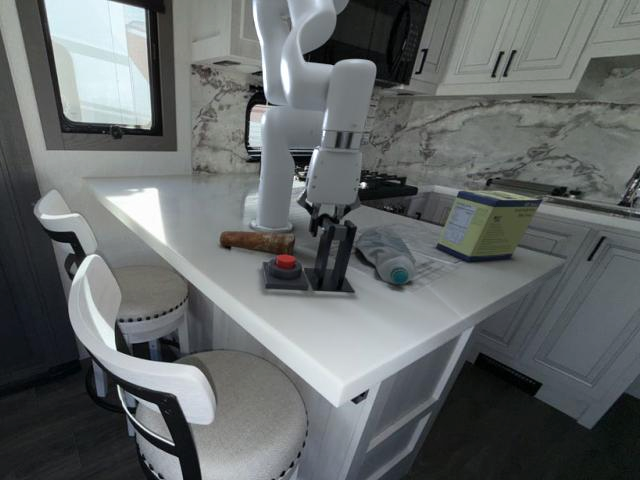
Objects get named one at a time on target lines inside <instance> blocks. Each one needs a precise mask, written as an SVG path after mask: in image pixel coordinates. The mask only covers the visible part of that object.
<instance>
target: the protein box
mask: <svg viewBox="0 0 640 480" xmlns="http://www.w3.org/2000/svg"><path fill="white" fill-rule="evenodd" d="M542 202H543V199H541V198H537V197H532V196H527V195H522V194H518V193H515V192H511V191H510V192H509V191H505V190H458V192H457V195H456V197H455V200H454V202H453V205H452V207H451V209H450V211H449V215H448V217H447V218H446V222H445V224H444V227H443V228H442V229H443V230H442V231H441V234H440V236H439V239H438V241H437V243H436V246H435V247H436V249H439V250H440V251H443V252H446V253H447V254H450V255H452V256H454V257H456V258H458V259H460V260H463V261H464V262H467V263H469V262H483V261H495V260H496V261H497V260H499V261H500V260H509V259H511V258H512V257H513V255H514V253H515V252H516V250H517V247H518V246H519V244H520V242H521V240H522V239H523V237H524V235H525V233H526V231H527V229H528V227H529V225H530V224H531V222H532V220H533V219H534V216H535V214H536V213H537V211H538V209H539V207H540V206H541V204H542Z"/></svg>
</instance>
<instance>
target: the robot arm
mask: <svg viewBox="0 0 640 480" xmlns="http://www.w3.org/2000/svg"><path fill="white" fill-rule="evenodd" d="M349 2H350V0H252V15H253V16H252V17H253V22H254V27H255V31H256V34H257V38H258V41H259V46H260V50H261V66H262V67H261V68H262V83H263V92H264V97H265V100H266V101H267V102H268V103H270V104H271V105H275V106H270V107H269V108H268V109H266V110H265V111H264V113H263V114H262V117H261V119H260V137H261V138H260V139H261V140H260V141H261V162H260V175H259V189H258V197H257V198H258V200H257V213H256V218H254V219H253V220H252V221H251V224H250V225H251V228H253V229H255V230H267V231H292V230H293V224H292V223H291V222H290V221H289V216H290V209H291V202H292V195H293V194H292V193H293V188H294V187H293V186H294V179H295V171H296V164H295V160H294V158H293V156H292V154H291V152H290V149H313V152H312V155H311V158H310V160H309V161H310V162H309V165H308V168H307V173H306V179H305V182H304V189H303V190H302V192H301V193H300V195H298V196H297V199H296V201H295V202H296V203H297V205H299V206H300V207H301V208H302V209H305V210H306V212H307V213H308V214H309V215H310V220H309V226H308V232H309V233H310V235H311V236H312V238H317V237H318V232H319V221H320V220H319V218H318V216H319V215H320V211H321V207H322V205H334V208H333V215H331V217H332V223H333V224H340V223H341V221H342V220H344V217H346V216H347V215H348V214H350V212H352V211H354V210H357V209H359V208H361V206H362V204H361V200H360V196H359V193H358V192H359V189H360V188H359V187H360V182H361V175H362V162H363V152H362V151H360V150H361V149H362V146H368V144H369V142H370V137H368V136H365V133H364V130H365V126H366V122H367V116H368V112H369V109H370V103H371V99H372V95H373V91H374V85H375V81H376V76H377V66H376V63H374V62H373V61H371V60H368V59H361V58H349V59H342V60H339V61H337V62H336V63H334V65H332V64H328V63H327V64H326V63H318V62H310V61H306V60H305V59H304V55H305V54H307V53H309V52H312V51H314V50H317V49H318V48H320V47H321V46H323V45H324V44H326V42H327V41H328V40H329V39H331V37H332V35H333V33H334V32H335V29H336V25H337V16H338V15H339V14H341V13H342V12H343V11H344V10H345V9H346V7H347V5H348V4H349ZM282 17H286V18H290V22H291V27H292V29H291V30H290V29H289V27H288V26H287V24H286V22H285V21H284V20H283V18H282ZM306 200H307V201H306Z"/></svg>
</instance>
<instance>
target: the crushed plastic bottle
mask: <svg viewBox="0 0 640 480" xmlns="http://www.w3.org/2000/svg"><path fill="white" fill-rule="evenodd" d="M355 246H356V248H357V249H358V250H359V251H360V252H361V253H362V254H363V257H365V259H366V260H367V262H369V263H371V264H372V265H373V266H375V268H376V270H377V272H378V275H379V276H380V278H381V279H382V280H383V282H385V283H389V284H396V285H403V284H406V283H408V282H410V281H412V280H413V279H414V278H415V277H416V276H417V268H416V263H417V261H416V259H415V257H414V256H413V254H412V252H411V251H410V249H409V248H408V246H407V245H406V243H405V242H404V240H403V239H402V237H401V236H400V235H399V234H397V233H396V232H395V231H393V230H392V229H390V228H388V227H384V226H376V227H372V228H369V229H367V230H366V231H364V232H363V233H362V234H360V235H359V237H358V240H357V241H356V242H355Z"/></svg>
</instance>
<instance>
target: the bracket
mask: <svg viewBox="0 0 640 480" xmlns="http://www.w3.org/2000/svg"><path fill="white" fill-rule="evenodd" d="M343 225H344V226H345V227H347V233H346V237H345V241H339V242H338V243H339V244H338V247H337V252H336V256H335V260H334V264H333V268H327V266H328V261H329V256H330V252H331V247H332V244H333V240H332V238H333V234H334V229H335V225H334V224H333V223H332V222H331V221H330V220H329V219H324V221H323V226H322V228H321V229H320V236H319V242H318V248H317V253H316V256H315V257H316V258H315V263H314V267H303V272H304V274H305V275H306V276H305V277H306V279H307V280H308V284H309V286H310V288H311V289H312V291H313V292H328V293H329V292H330V293H351V294H354V293H356V291H355V289H354V288H353V286H352V285H351V283H350V282H349V281H348V279H347V277H346V273H347V269H348V265H349V261H350V257H351V254H352V250H353V246H354V242H355V238H356V234H357V230H358V226H357V225H356V224H355V223H354V222H352V221H351V220H350V219H344V221H343Z"/></svg>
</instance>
